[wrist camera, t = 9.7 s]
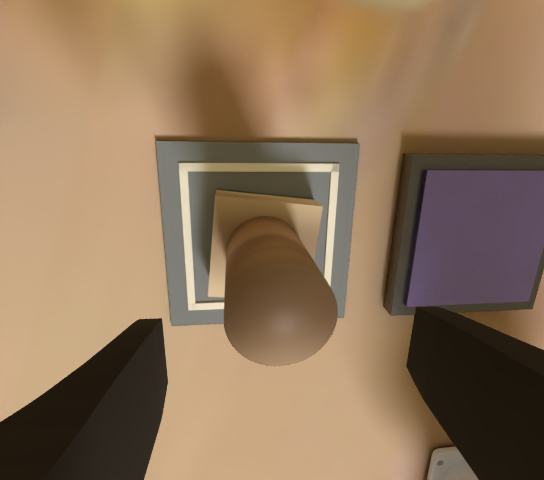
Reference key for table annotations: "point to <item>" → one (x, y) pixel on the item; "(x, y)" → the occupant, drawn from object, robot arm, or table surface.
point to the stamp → (270, 276)
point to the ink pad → (467, 233)
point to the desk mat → (251, 178)
